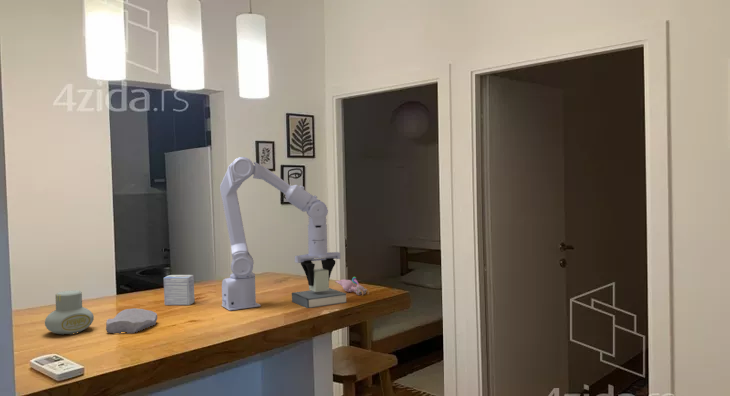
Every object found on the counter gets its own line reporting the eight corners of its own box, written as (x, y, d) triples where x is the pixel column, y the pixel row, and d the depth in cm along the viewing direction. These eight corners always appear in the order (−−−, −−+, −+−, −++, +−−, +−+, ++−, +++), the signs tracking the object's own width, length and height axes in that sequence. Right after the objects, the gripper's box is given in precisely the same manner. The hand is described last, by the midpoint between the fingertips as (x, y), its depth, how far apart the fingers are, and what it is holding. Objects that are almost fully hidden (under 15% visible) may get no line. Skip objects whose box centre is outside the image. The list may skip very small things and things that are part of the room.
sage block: (315, 291, 169) (315, 271, 169) (309, 289, 173) (308, 269, 173) (328, 290, 172) (328, 270, 172) (322, 287, 176) (321, 268, 175)
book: (307, 309, 165) (307, 298, 165) (291, 302, 174) (291, 292, 174) (346, 303, 172) (346, 293, 171) (329, 297, 181) (329, 287, 181)
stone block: (159, 328, 152) (122, 321, 152) (162, 311, 152) (125, 304, 152) (141, 343, 140) (101, 335, 140) (144, 324, 140) (104, 316, 140)
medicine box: (195, 302, 176) (194, 274, 175) (189, 305, 171) (188, 277, 171) (170, 302, 176) (169, 274, 176) (164, 305, 172) (163, 277, 172)
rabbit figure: (372, 298, 184) (343, 285, 195) (374, 280, 183) (345, 268, 194) (358, 301, 180) (329, 287, 191) (359, 283, 179) (330, 270, 190)
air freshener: (52, 339, 136) (50, 298, 136) (40, 333, 142) (39, 293, 142) (99, 330, 144) (97, 291, 144) (86, 324, 150) (84, 287, 150)
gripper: (301, 242, 165) (302, 289, 165) (344, 239, 173) (345, 283, 173) (291, 240, 171) (292, 285, 172) (334, 237, 179) (334, 280, 179)
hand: (318, 284), depth 173 cm, fingers closed on sage block, 4 cm apart
